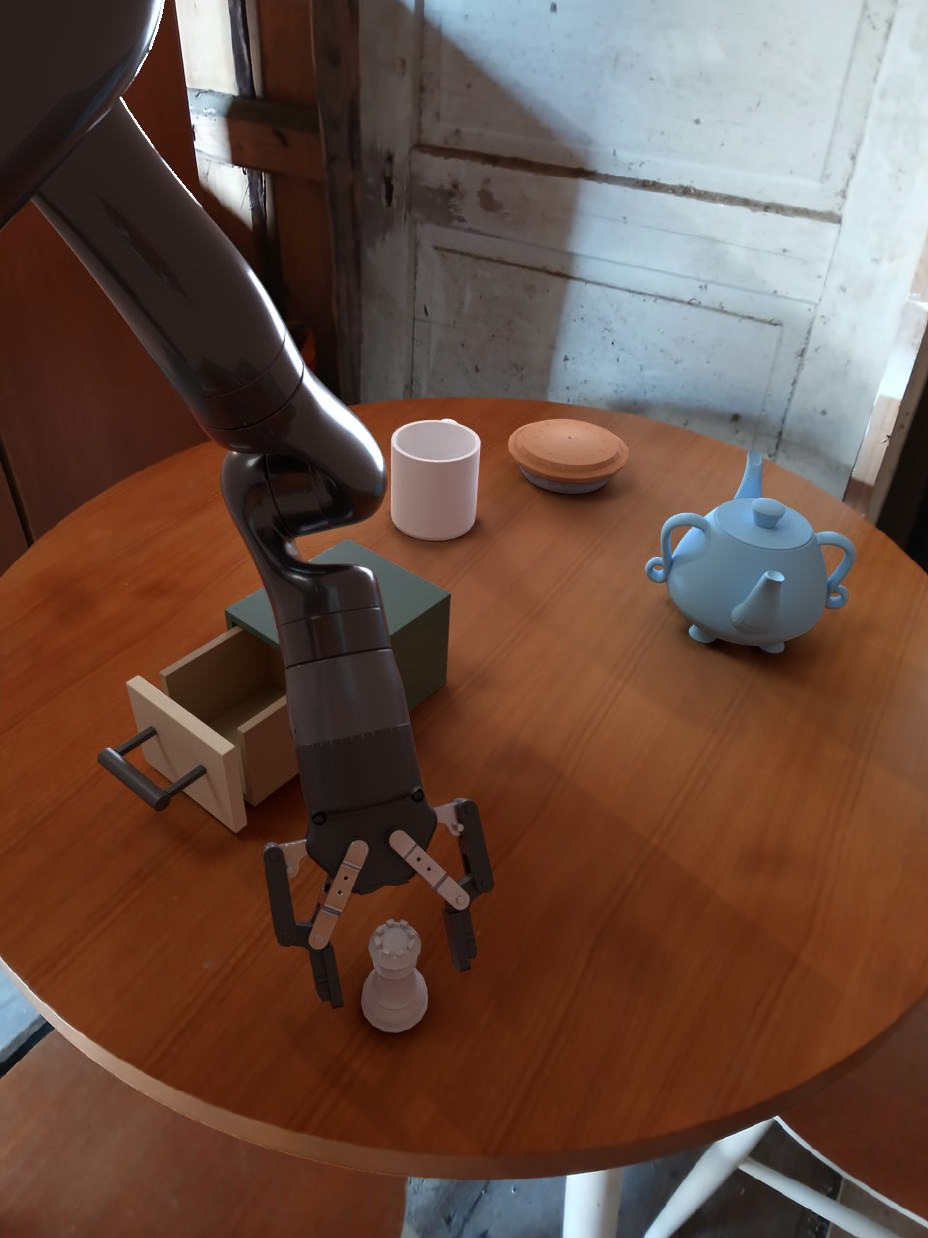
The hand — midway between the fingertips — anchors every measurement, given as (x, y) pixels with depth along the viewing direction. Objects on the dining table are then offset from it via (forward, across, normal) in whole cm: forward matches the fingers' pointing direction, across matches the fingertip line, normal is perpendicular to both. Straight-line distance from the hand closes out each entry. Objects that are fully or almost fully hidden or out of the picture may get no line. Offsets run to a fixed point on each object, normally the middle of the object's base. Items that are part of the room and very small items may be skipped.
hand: (401, 986), depth 57 cm
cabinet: (-19, +4, +26) cm, 32 cm away
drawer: (-15, -7, +20) cm, 26 cm away
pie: (-42, +41, +49) cm, 76 cm away
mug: (-38, +22, +45) cm, 63 cm away
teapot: (-19, +46, +26) cm, 56 cm away
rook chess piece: (+2, 0, +4) cm, 5 cm away
